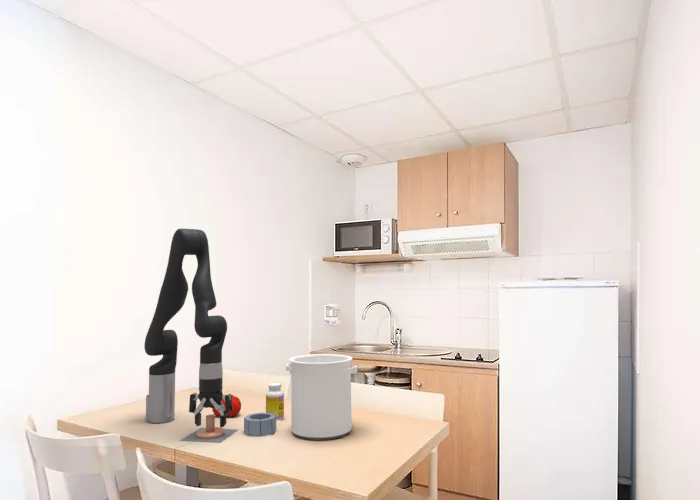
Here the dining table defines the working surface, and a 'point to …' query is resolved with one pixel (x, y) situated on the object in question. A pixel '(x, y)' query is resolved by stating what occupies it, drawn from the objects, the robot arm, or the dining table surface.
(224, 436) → the mat
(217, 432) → the lid
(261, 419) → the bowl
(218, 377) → the robot arm
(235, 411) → the tomato
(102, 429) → the dining table surface
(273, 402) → the supplement bottle
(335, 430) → the bucket
